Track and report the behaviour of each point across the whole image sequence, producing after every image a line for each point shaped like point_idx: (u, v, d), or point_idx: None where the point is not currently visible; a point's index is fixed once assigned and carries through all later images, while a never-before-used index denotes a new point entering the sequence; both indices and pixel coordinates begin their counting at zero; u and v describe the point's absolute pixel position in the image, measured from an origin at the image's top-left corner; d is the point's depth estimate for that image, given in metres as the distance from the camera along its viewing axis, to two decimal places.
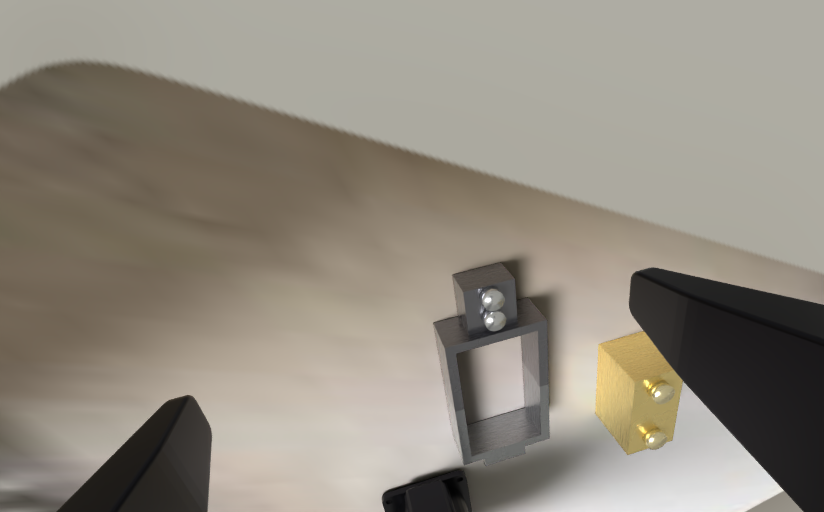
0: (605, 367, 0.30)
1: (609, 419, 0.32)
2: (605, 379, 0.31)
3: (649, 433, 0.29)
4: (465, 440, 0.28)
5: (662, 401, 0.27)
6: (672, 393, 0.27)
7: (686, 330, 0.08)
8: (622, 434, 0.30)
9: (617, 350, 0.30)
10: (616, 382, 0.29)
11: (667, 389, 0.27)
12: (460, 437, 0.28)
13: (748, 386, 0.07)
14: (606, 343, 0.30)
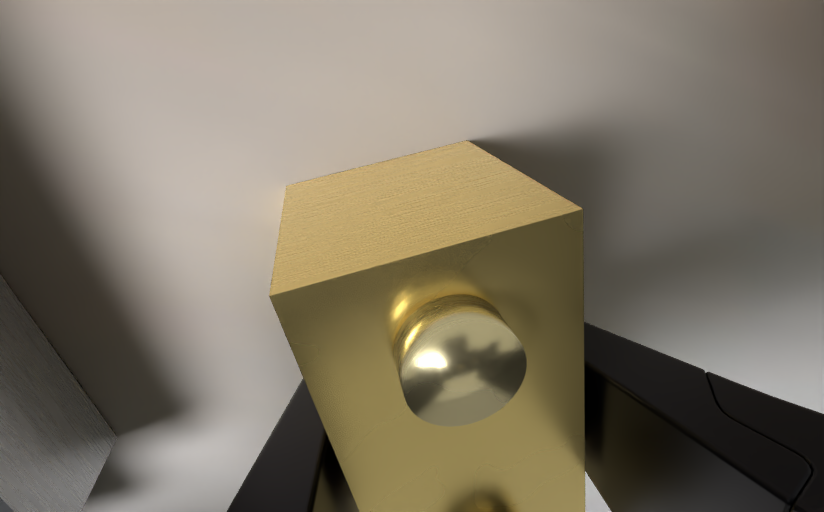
0: None
1: None
2: None
3: None
4: None
5: (459, 406, 0.05)
6: (511, 363, 0.05)
7: None
8: None
9: (328, 194, 0.07)
10: None
11: (470, 336, 0.04)
12: None
13: (595, 435, 0.07)
14: (314, 182, 0.08)
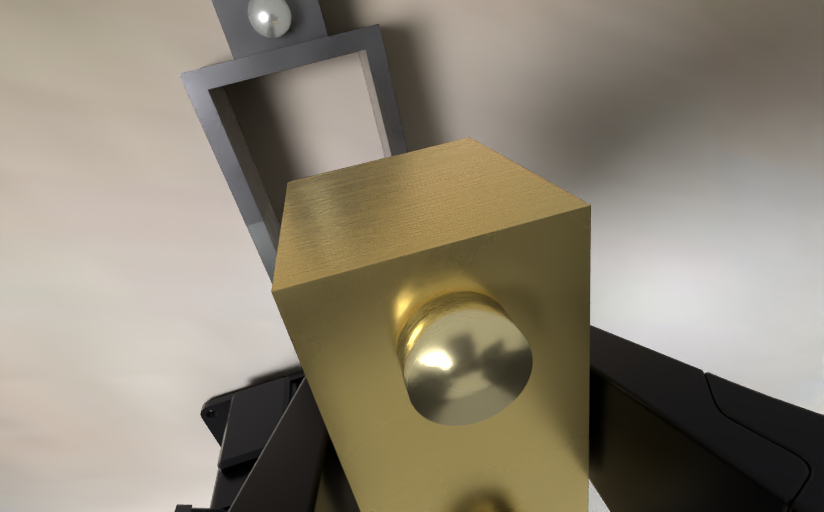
0: None
1: None
2: None
3: None
4: None
5: (463, 406, 0.05)
6: (517, 361, 0.05)
7: None
8: None
9: (331, 190, 0.07)
10: None
11: (477, 334, 0.04)
12: None
13: (594, 435, 0.07)
14: (315, 179, 0.08)
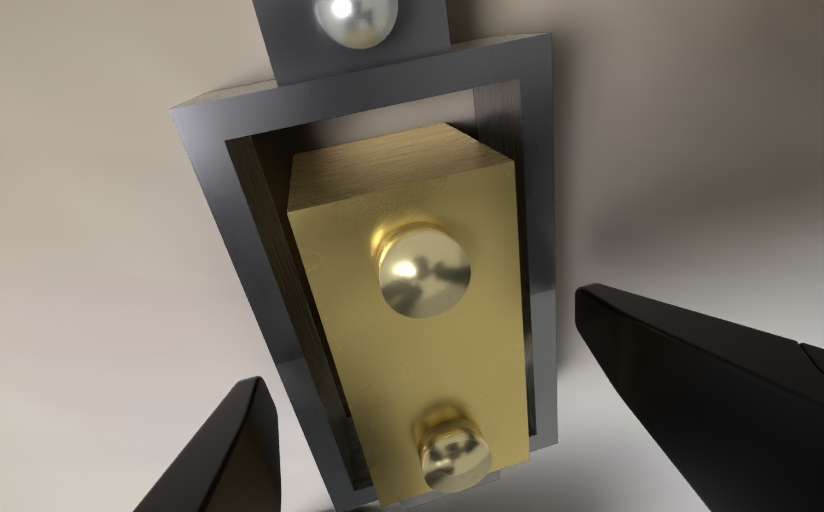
0: None
1: None
2: None
3: (430, 437, 0.09)
4: (327, 449, 0.10)
5: (421, 303, 0.07)
6: (459, 269, 0.07)
7: (622, 349, 0.08)
8: None
9: (329, 157, 0.09)
10: None
11: (429, 245, 0.06)
12: (310, 441, 0.10)
13: (677, 409, 0.07)
14: (316, 150, 0.10)
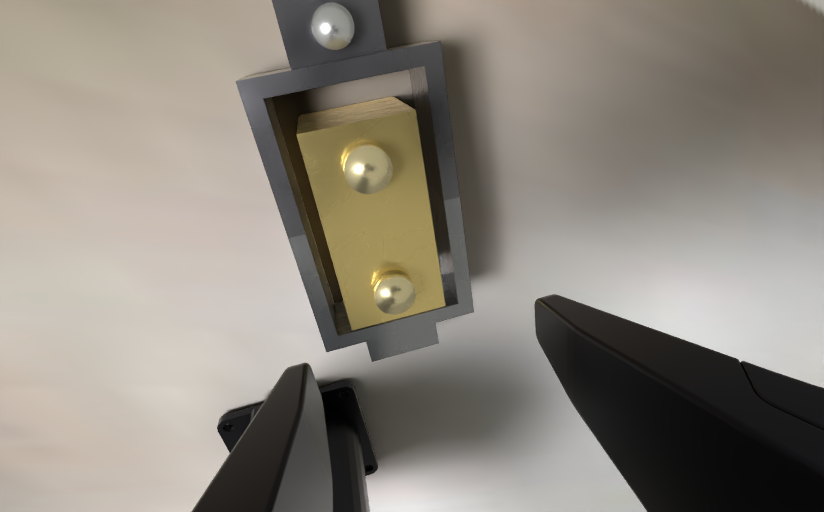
0: None
1: None
2: None
3: (379, 279, 0.15)
4: (320, 302, 0.16)
5: (366, 184, 0.13)
6: (386, 166, 0.13)
7: (576, 363, 0.07)
8: None
9: (320, 115, 0.15)
10: None
11: (369, 151, 0.12)
12: (309, 294, 0.16)
13: (625, 425, 0.07)
14: (313, 112, 0.16)
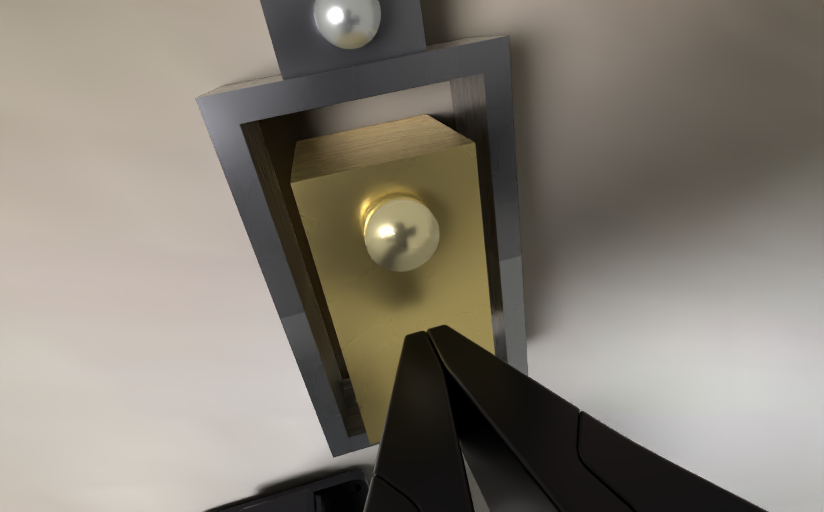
0: None
1: None
2: None
3: None
4: (325, 397, 0.12)
5: (399, 258, 0.08)
6: (430, 230, 0.08)
7: (451, 400, 0.07)
8: None
9: (326, 143, 0.10)
10: None
11: (404, 210, 0.08)
12: (310, 389, 0.11)
13: (486, 470, 0.06)
14: (315, 138, 0.11)
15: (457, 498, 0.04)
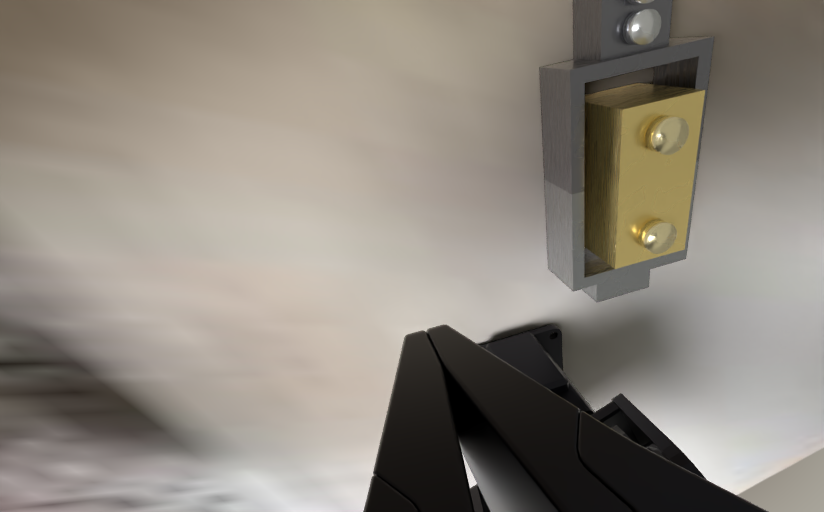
0: None
1: (588, 227, 0.21)
2: None
3: (648, 225, 0.19)
4: (579, 248, 0.20)
5: (668, 147, 0.17)
6: (684, 133, 0.17)
7: (451, 400, 0.07)
8: (606, 236, 0.19)
9: (596, 97, 0.19)
10: (594, 144, 0.19)
11: (676, 121, 0.16)
12: (573, 242, 0.20)
13: (486, 470, 0.06)
14: None
15: (457, 498, 0.04)
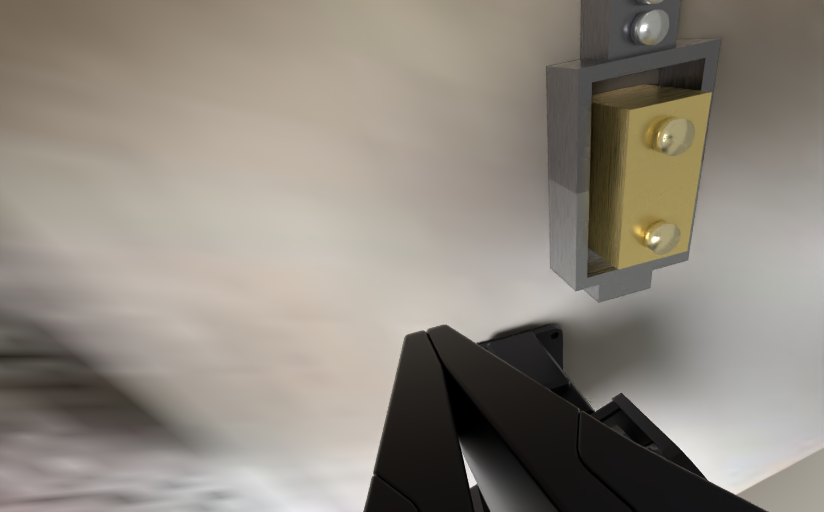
0: None
1: (591, 227, 0.21)
2: None
3: (652, 226, 0.19)
4: (583, 248, 0.20)
5: (674, 148, 0.17)
6: (691, 134, 0.17)
7: (451, 400, 0.07)
8: (610, 237, 0.19)
9: (602, 98, 0.19)
10: (600, 145, 0.19)
11: (683, 123, 0.16)
12: (577, 241, 0.20)
13: (486, 470, 0.06)
14: None
15: (457, 498, 0.04)
